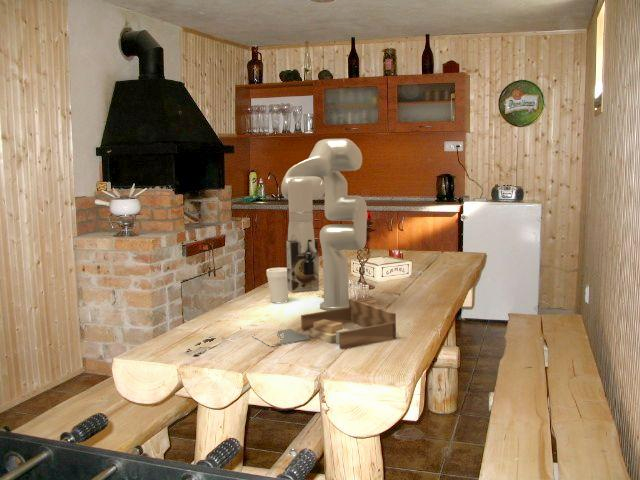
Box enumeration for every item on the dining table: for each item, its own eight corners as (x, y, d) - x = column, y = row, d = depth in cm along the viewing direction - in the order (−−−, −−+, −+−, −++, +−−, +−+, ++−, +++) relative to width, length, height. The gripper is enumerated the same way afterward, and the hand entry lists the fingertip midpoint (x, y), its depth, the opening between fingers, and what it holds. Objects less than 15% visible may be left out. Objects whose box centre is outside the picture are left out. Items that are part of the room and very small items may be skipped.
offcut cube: (336, 344, 201) (335, 331, 201) (344, 341, 204) (344, 328, 203) (345, 346, 198) (345, 333, 198) (354, 343, 201) (354, 330, 201)
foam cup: (264, 300, 263) (263, 269, 261) (285, 298, 266) (284, 266, 265) (273, 305, 254) (271, 272, 252) (294, 302, 258) (293, 270, 256)
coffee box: (292, 293, 204) (290, 242, 201) (287, 289, 210) (285, 240, 208) (320, 291, 206) (318, 240, 204) (314, 287, 212) (312, 238, 210)
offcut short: (313, 330, 208) (313, 322, 208) (324, 326, 212) (323, 319, 212) (332, 334, 203) (332, 326, 202) (342, 330, 206) (342, 323, 206)
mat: (252, 336, 212) (252, 335, 212) (290, 329, 218) (290, 328, 218) (270, 347, 199) (270, 345, 199) (310, 339, 206) (310, 338, 206)
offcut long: (309, 337, 211) (309, 328, 211) (324, 333, 214) (324, 324, 214) (331, 345, 201) (331, 336, 201) (347, 341, 205) (346, 332, 204)
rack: (301, 329, 218) (300, 306, 217) (352, 320, 228) (351, 298, 226) (341, 349, 195) (340, 323, 194) (395, 338, 205) (395, 313, 204)
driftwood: (213, 338, 213) (213, 331, 213) (232, 339, 211) (231, 333, 211) (178, 357, 194) (177, 351, 194) (197, 359, 192) (197, 353, 192)
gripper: (277, 216, 210) (279, 270, 213) (304, 220, 196) (306, 278, 198) (297, 214, 214) (299, 267, 217) (325, 218, 199) (327, 275, 202)
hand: (302, 272), depth 207 cm, fingers closed on coffee box, 7 cm apart
